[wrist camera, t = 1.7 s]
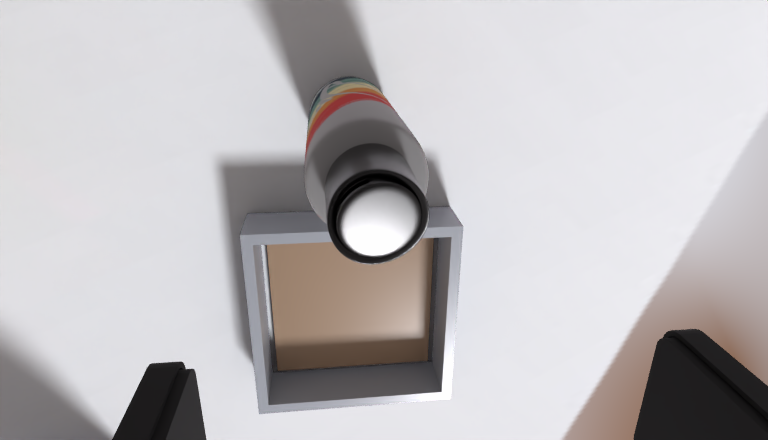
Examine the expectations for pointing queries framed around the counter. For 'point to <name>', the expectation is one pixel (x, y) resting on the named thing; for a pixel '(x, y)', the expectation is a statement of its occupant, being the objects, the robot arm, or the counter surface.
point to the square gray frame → (349, 315)
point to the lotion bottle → (365, 173)
